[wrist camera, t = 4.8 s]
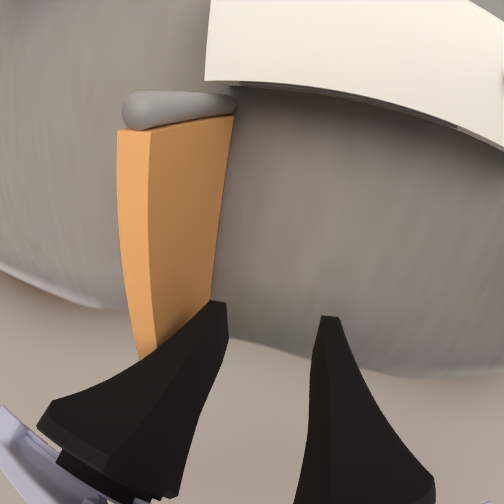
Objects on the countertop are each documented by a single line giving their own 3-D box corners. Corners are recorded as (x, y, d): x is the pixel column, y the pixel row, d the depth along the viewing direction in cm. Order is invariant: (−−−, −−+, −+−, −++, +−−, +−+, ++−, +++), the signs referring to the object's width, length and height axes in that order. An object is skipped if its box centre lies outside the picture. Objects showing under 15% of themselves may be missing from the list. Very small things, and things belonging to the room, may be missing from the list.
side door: (217, 94, 9) (120, 91, 4) (237, 96, 9) (154, 91, 4) (196, 293, 14) (145, 383, 9) (210, 297, 14) (163, 391, 9)
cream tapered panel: (531, 71, 5) (568, 74, 2) (523, 165, 7) (560, 184, 5) (237, -20, 7) (214, -50, 4) (228, 88, 9) (200, 83, 7)
